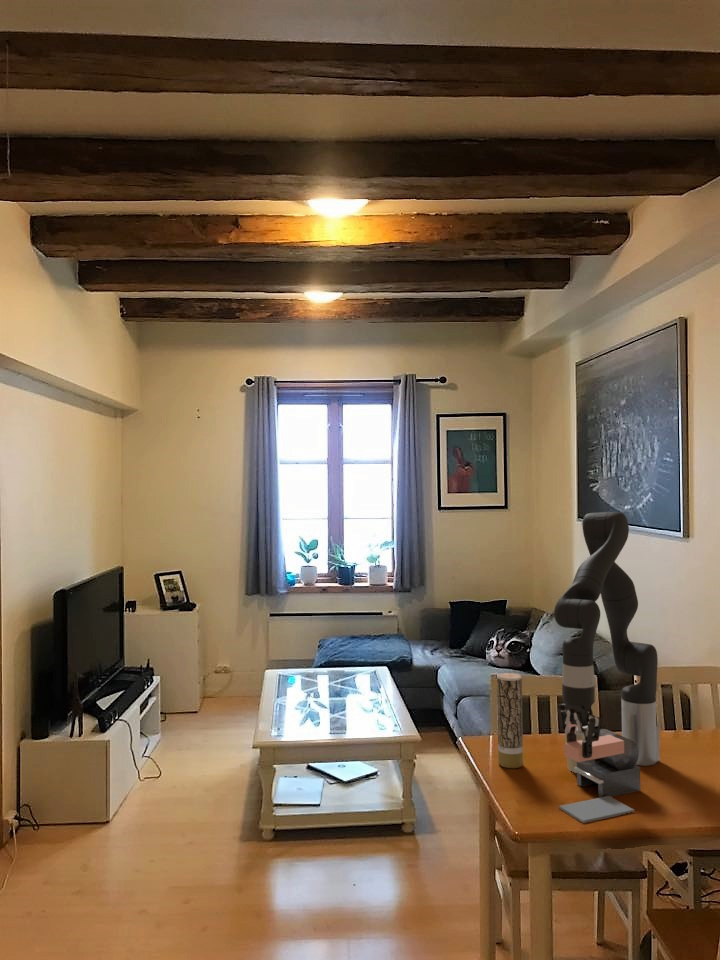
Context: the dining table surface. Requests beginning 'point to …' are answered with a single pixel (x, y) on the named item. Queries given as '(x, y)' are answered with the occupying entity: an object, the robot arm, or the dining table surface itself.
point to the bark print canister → (510, 720)
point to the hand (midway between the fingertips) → (579, 753)
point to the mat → (596, 809)
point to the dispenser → (612, 770)
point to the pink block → (595, 748)
